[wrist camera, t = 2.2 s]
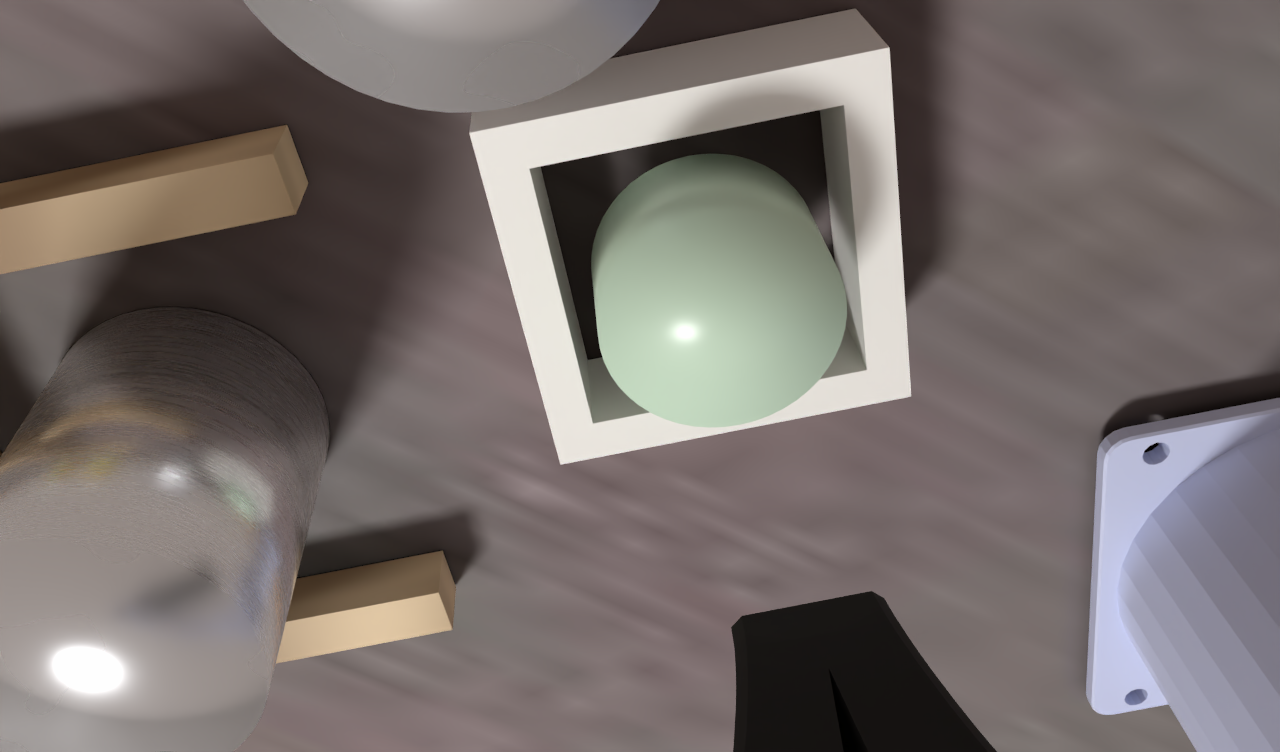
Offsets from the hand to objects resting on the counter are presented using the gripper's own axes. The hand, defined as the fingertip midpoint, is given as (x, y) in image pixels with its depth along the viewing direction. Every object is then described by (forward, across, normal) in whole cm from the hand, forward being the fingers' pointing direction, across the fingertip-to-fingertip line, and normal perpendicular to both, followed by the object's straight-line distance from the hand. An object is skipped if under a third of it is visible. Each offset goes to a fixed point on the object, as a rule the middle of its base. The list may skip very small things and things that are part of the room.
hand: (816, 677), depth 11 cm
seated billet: (+10, +9, +2) cm, 14 cm away
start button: (+9, 0, 0) cm, 9 cm away
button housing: (+10, 0, 0) cm, 10 cm away
